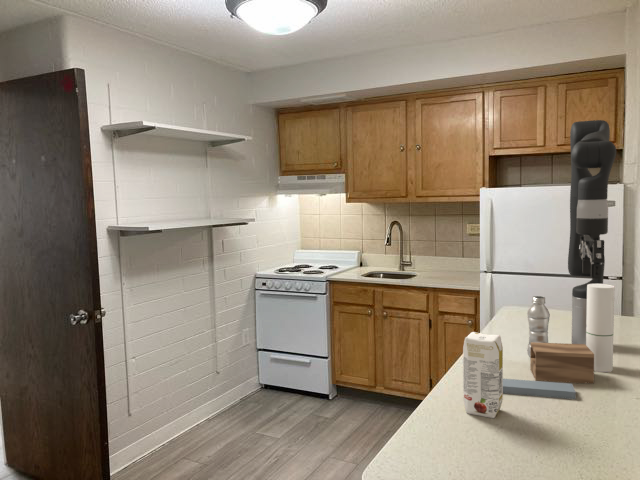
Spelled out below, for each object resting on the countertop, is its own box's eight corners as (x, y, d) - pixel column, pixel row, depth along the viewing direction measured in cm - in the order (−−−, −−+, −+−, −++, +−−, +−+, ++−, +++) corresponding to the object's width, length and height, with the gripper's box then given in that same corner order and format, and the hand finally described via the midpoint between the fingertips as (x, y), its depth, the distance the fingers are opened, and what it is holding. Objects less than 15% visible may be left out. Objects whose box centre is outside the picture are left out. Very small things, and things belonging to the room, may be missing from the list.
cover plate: (493, 386, 145) (493, 377, 145) (571, 392, 139) (571, 383, 139) (493, 394, 139) (493, 385, 139) (575, 401, 133) (575, 392, 133)
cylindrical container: (611, 365, 157) (613, 284, 155) (613, 373, 151) (615, 288, 148) (585, 362, 160) (586, 283, 158) (586, 370, 154) (587, 287, 151)
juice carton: (497, 420, 122) (497, 342, 121) (461, 413, 127) (460, 337, 125) (504, 409, 129) (504, 334, 127) (469, 402, 133) (469, 330, 131)
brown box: (530, 369, 156) (530, 342, 155) (584, 372, 152) (585, 344, 151) (535, 380, 147) (535, 351, 146) (593, 383, 143) (594, 354, 142)
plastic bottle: (552, 362, 161) (552, 299, 159) (529, 362, 162) (529, 299, 160) (547, 356, 167) (548, 295, 165) (525, 355, 169) (525, 295, 167)
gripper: (616, 217, 132) (614, 280, 133) (599, 214, 146) (598, 271, 147) (584, 218, 134) (582, 280, 135) (570, 215, 148) (569, 271, 149)
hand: (591, 275), depth 141 cm, fingers open, 8 cm apart
